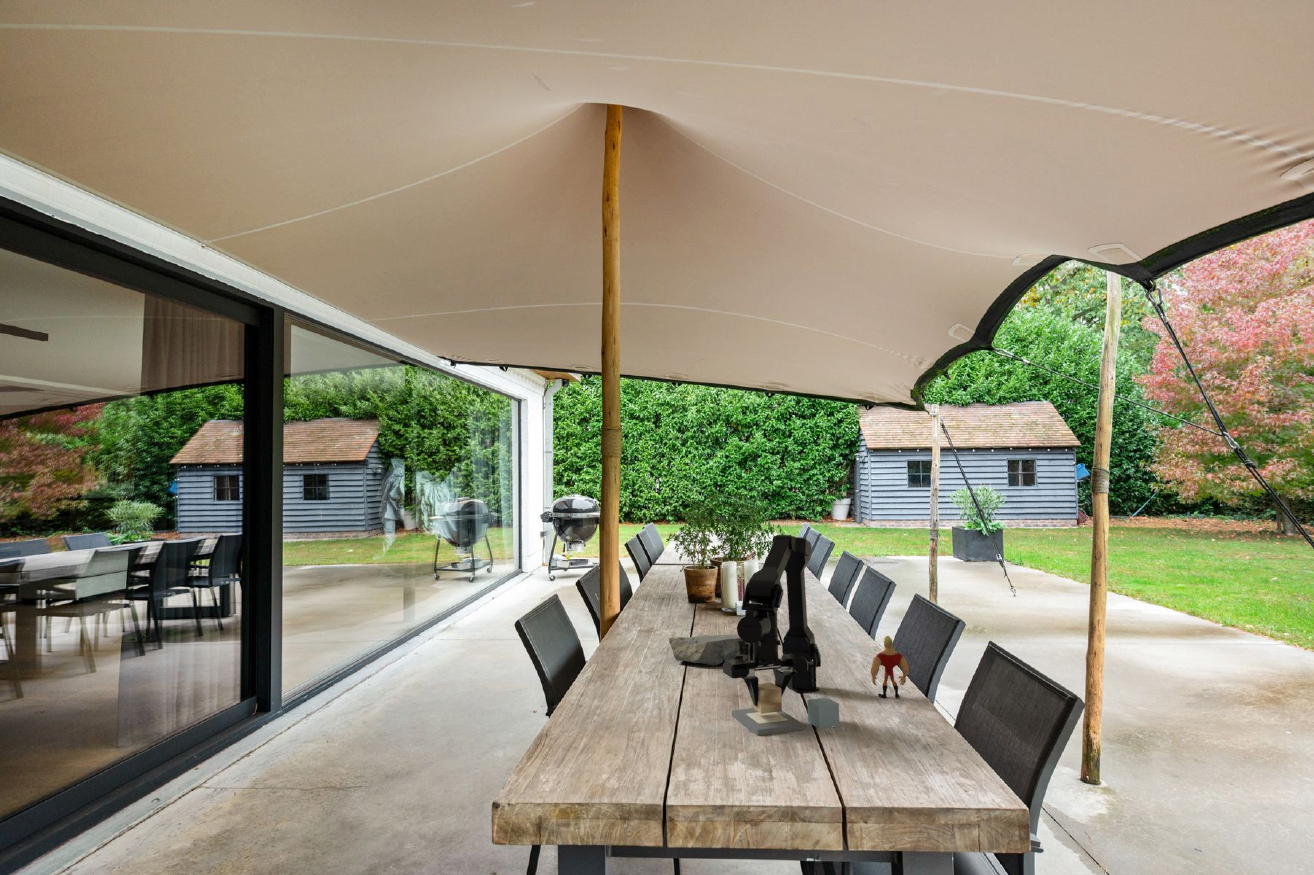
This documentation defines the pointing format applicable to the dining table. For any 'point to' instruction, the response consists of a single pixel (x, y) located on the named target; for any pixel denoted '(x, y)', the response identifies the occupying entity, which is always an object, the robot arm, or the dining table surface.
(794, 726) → the board
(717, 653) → the stone
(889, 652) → the action figure
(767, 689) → the oak block
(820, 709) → the blue block
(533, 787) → the dining table surface
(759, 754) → the dining table surface
